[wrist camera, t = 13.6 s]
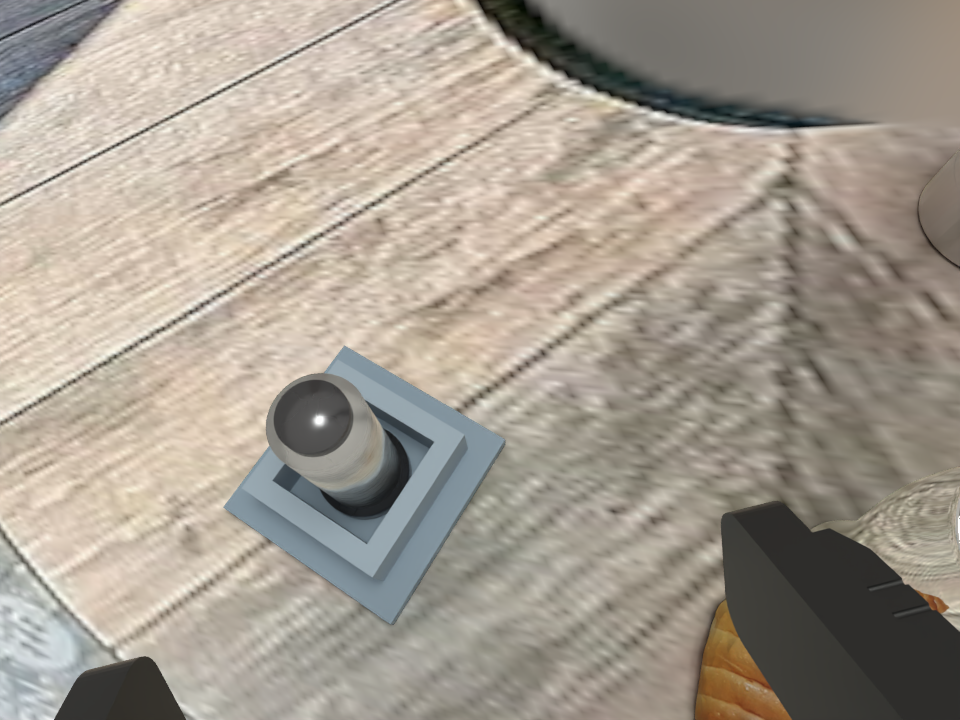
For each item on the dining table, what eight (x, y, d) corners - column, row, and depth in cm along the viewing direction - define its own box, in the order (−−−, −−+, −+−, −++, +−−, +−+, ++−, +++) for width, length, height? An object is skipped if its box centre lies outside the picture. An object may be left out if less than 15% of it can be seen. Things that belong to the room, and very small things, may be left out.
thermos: (356, 417, 39) (298, 338, 28) (428, 458, 38) (396, 393, 27) (306, 490, 38) (224, 437, 27) (379, 536, 37) (325, 500, 26)
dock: (348, 351, 42) (332, 325, 39) (505, 443, 39) (504, 424, 36) (230, 510, 39) (200, 498, 35) (393, 624, 36) (379, 624, 32)
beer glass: (807, 656, 34) (1006, 676, 20) (766, 523, 37) (917, 461, 23) (936, 635, 34) (1222, 642, 20) (886, 504, 37) (1108, 431, 23)
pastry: (783, 812, 32) (815, 836, 28) (657, 730, 33) (673, 742, 30) (849, 635, 35) (886, 636, 31) (729, 568, 36) (752, 561, 33)
